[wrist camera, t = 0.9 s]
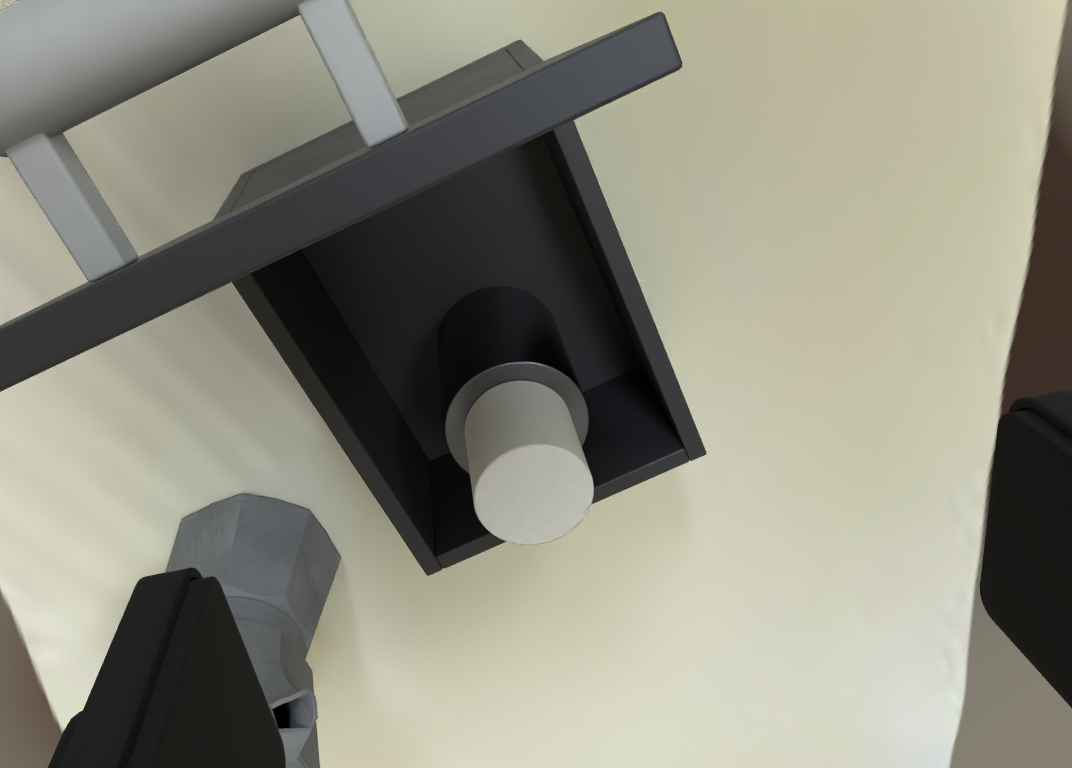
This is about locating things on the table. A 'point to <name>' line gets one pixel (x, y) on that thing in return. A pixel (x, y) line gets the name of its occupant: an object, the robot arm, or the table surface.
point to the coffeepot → (268, 598)
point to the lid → (283, 215)
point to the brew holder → (501, 357)
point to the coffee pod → (526, 464)
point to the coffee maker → (440, 282)
